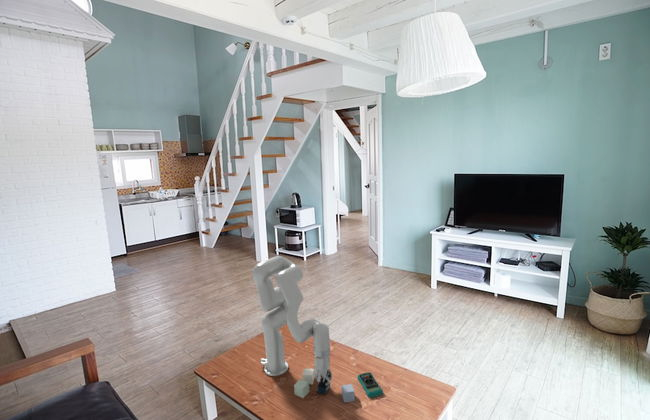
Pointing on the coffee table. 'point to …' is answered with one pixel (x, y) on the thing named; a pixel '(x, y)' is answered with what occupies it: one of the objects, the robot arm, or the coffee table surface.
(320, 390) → the watch
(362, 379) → the digital multimeter
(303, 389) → the sage cube
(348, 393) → the slate cube
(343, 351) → the coffee table surface
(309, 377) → the cream cube
